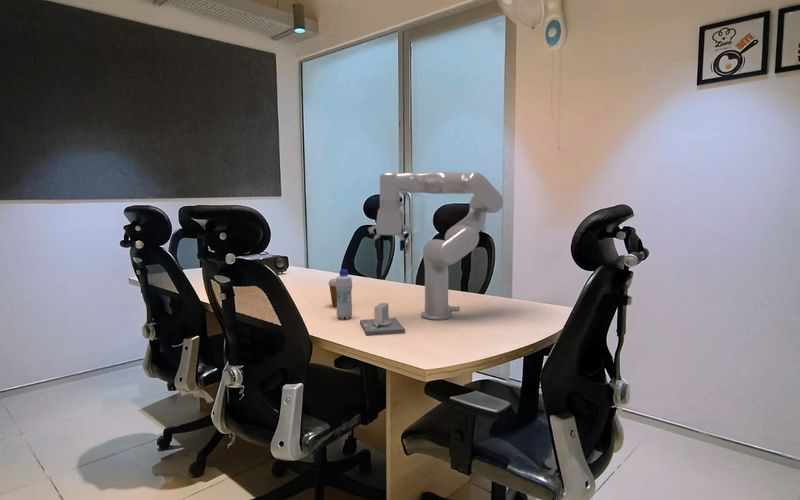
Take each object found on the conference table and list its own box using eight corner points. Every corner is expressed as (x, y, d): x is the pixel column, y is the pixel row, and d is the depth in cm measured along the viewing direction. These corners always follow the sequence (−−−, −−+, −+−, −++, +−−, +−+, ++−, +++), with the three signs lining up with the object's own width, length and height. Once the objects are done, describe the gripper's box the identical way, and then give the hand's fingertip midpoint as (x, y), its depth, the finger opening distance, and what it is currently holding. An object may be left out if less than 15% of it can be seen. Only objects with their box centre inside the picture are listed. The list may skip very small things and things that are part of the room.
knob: (393, 321, 182) (393, 303, 181) (385, 328, 172) (385, 309, 171) (376, 320, 184) (375, 302, 183) (367, 327, 174) (367, 308, 173)
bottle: (349, 320, 191) (349, 270, 188) (333, 319, 192) (332, 270, 190) (354, 316, 197) (354, 268, 195) (339, 315, 198) (338, 267, 196)
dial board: (395, 321, 189) (395, 317, 189) (405, 333, 172) (405, 328, 172) (360, 323, 186) (360, 319, 186) (366, 335, 169) (366, 331, 169)
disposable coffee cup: (348, 308, 211) (348, 281, 210) (327, 308, 211) (326, 282, 210) (351, 304, 221) (350, 278, 219) (330, 304, 221) (330, 278, 219)
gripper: (414, 205, 185) (414, 249, 187) (371, 205, 190) (371, 248, 191) (409, 205, 178) (409, 251, 180) (365, 205, 182) (365, 250, 184)
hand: (389, 250), depth 185 cm, fingers open, 9 cm apart
